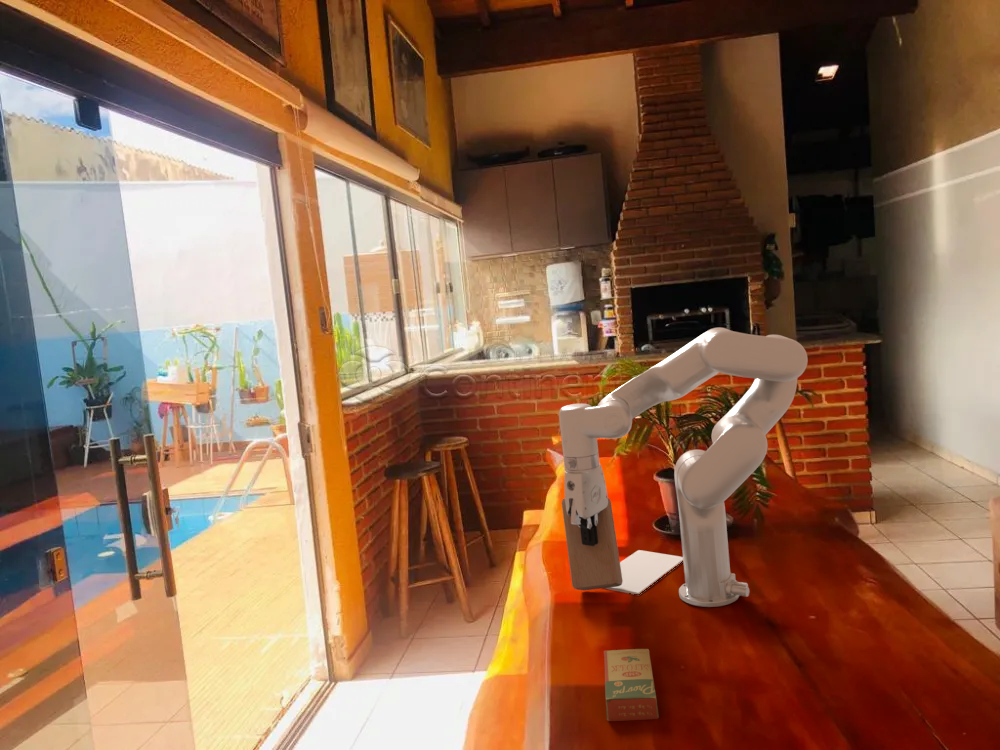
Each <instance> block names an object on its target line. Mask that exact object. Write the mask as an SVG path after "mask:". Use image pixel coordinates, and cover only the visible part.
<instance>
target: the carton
mask: <svg viewBox="0 0 1000 750" xmlns="http://www.w3.org/2000/svg"><path fill="white" fill-rule="evenodd" d="M603 657H604V658H603V660H604V663H603V664H604V692H605V696H604V697H605V707H606V708H605V711H606V721H607V722H620V721H623V722H625V721H641V720H658V719H659V718H660V714H659V708H658V699H657V694H656V689H655V688H656V687H655V681H654V676H653V675H654V674H653V669H652V668H653V667H652V661H651V653H650V650H649V648H635V649H634V648H631V649H617V650H616V649H612V650H603Z"/></svg>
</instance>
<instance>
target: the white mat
mask: <svg viewBox="0 0 1000 750" xmlns="http://www.w3.org/2000/svg"><path fill="white" fill-rule="evenodd" d="M682 561H683V556H679V555H673V554H666V553H660V552H653V551H647V550H642V549H641V550H640V549H638V550H636V551H635V552H633V553H632V554H631V555H628V556H627V557H625V559H623V560H621V561H620V567H621V574H622V580H623V582H622V585H620V586H617V587H609V588H604V590H605V589H606V590H609V591H615V592H619V593H625V594H629V593H631V594H630V595H634V594H640V593H641V592H642V591H644V590H645V589H646V588H648V587H649V586H650V585H652V584H653V583H654V582H656V581H657V580H658V579H659V578H661V577H662V576H663V575H664V574H666V573H667V572H669V571H670V570H671V569H673V568H674V567H675V566H677V565H678V564H680V563H681V562H682ZM682 563H683V562H682ZM682 563H681V564H682ZM681 564H680V565H681ZM678 566H679V565H678ZM678 566H677V567H678ZM674 569H675V568H674ZM674 569H673V570H674ZM670 572H671V571H670ZM670 572H669V573H670ZM661 579H662V578H661ZM657 582H658V581H657ZM657 582H656V583H657ZM653 585H654V584H653ZM653 585H652V586H653ZM649 588H650V587H649ZM649 588H648V589H649ZM645 591H646V590H645ZM645 591H644V592H645ZM641 594H642V593H641ZM641 594H640V595H641Z"/></svg>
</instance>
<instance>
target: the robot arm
mask: <svg viewBox="0 0 1000 750" xmlns="http://www.w3.org/2000/svg"><path fill="white" fill-rule="evenodd" d="M808 361H809V360H808V354H807V351H806V349H805V348H804V346H803V345H802V344H801V343H800V342H798V341H797V340H795V339H792V338H789V337H786V336H783V335H780V334H768V335H766V336H765V335H757V334H748V333H745V332H739V331H733V330H732V329H731V330H730V329H728V328H726V327H713V328H710V329H708V330H707V331H705V332H703V333H702V334H700V335H699V336H697V337H696V338H694V339H693V340H691V341H689V342H687V344H685V345H684V346H682V347H681V348H679V349H678V350H676V351H675V352H674V353H671V355H669V356H668V357H666V358H664V359H663V360H661V361H660V362H658V363H657V364H655V365H653V366H651V367H650V368H648V369H647V370H645V371H643V372H642V373H640V374H639V375H638V376H635V377H633V378H631V379H630V380H628V381H627V382H625V383H624V384H622V385H621V386H618V388H616V389H615V390H613V391H612V392H611V393H609V394H608V395H606V396H605V397H603V398H602V399H601V400H600V401H599V403H598V404H597V406H592V405H590V404H588V403H572V404H567V405H566V404H565V405H564V406H562V407H560V409H559V413H558V420H559V428H560V429H559V430H560V437H561V446H562V454H563V455H562V456H563V465H564V498H565V504H566V511H567V514H568V516H570V517H571V524H574V525H578V527H579V528H580V530H581V539H582V544H583V545H589V546H595V544H598V535H597V526H595V525H597V524H598V515H599V513H600V512H601V511H602V510H603V509H605V508H606V507H607V505H608V498H609V497H608V490H607V484H606V480H605V475H604V471H603V467H602V465H601V463H600V455H599V454H600V453H599V447H598V446H599V444H598V439H609V440H611V439H612V440H613V439H615V440H616V439H621V438H623V437H625V436H626V435H628V434H629V432H630V431H631V429H632V427H633V425H632V424H633V419H634V418H636V417H637V416H639V415H641V414H642V413H644V412H646V410H649V409H650V408H653V406H656V405H658V404H661V403H665V402H671V401H676V400H677V399H681V398H683V397H684V396H686V395H687V394H689V393H691V392H692V391H693V390H695V389H696V388H697V387H699V386H701V385H702V384H704V383H705V382H707V381H708V380H709V379H711V378H714V377H715V376H716V375H718V374H719V373H720V374H724V375H728V376H735V377H742V378H749V379H754V380H753V382H752V384H751V386H750V387H749V388H748V389H747V391H746V392H745V393H744V394H743V396H742V397H741V398H740V399H739V400H738V401H737V402H736V403H735V404H734V405H733V406H732V407H731V408H730V409H729V411H728V412H727V413H726V414H724V416H722V418H720V420H718V421H717V423H715V424H714V427H713V428H712V431H711V442H712V444H711V445H710V446H709V447H708V448H707V449H706V450H703V449H699V448H698V449H690V450H688V451H686V452H684V453H683V454H681V455H680V456H679V458H678V459H677V461H676V463H675V466H674V474H673V476H674V484H675V493H676V499H677V507H678V508H677V509H678V515H679V516H678V517H679V518H678V519H679V526H680V527H679V529H680V539H681V550H682V557H683V562H682V563H683V573H684V582H685V583H683V584H682V585H681V586H680V587H679V588H678V595H679V598H680V599H681V601H683V602H685V603H686V604H689V605H691V606H695V607H704V608H713V607H714V608H715V607H723V606H726V605H731V604H733V603H734V602H736V601H737V600H738V599H739V597H746V598H747V597H749V596H750V588H749V584H748V583H747V582H742V581H738V580H736V574H735V573H732V572H731V567H730V566H731V565H730V553H729V551H730V550H729V542H728V531H727V530H728V528H727V515H726V506H725V505H726V504H725V501H726V500H727V499H728V498H729V497H730V496H731V495H733V493H735V491H736V490H738V488H739V487H740V486H742V484H743V483H744V482H745V481H746V480H747V479H749V477H750V476H751V475H752V474H753V473H754V472H755V471H756V470H757V468H759V466H761V464H762V463H763V461H764V459H765V457H766V455H767V452H768V447H769V446H768V439H767V437H766V436H767V434H768V433H769V432H770V431H771V429H772V428H773V427H774V426H775V425H776V424H777V423H778V422H779V421H780V419H781V418H782V417H783V416H784V414H786V413H787V411H788V409H789V408H790V407H791V404H792V403H793V401H794V398H795V395H796V392H797V385H798V378H799V377H801V376H802V375H803V373H804V372H806V368H807V367H808Z"/></svg>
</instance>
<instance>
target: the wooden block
mask: <svg viewBox="0 0 1000 750" xmlns="http://www.w3.org/2000/svg"><path fill="white" fill-rule="evenodd" d="M561 508H562V517H563V523H564V533H565V540H566V548H567V553H568V554H567V556H568V557H567V558H568V563H569V573H570V580H571V586H572V587H573V589H574V590H580V591H590V590H600V589H605V588H609V587H617V586H620V585H622V582H623V580H622V574H621V567H620V562H621V561H620V554H619V548H618V541H617V540H618V539H617V535H616V528H615V522H614V515H613V508H612V501H611V499H610V497H608V505H607V507H606V508H605V509H603V510H602V511H601V512H600V513H599V515H598V524H597V525H595V526H597V535H598V544H595V546H589V545H583V544H582V539H581V530H580V528H579V527H578V525H574V524H571V517H570V516H568V514H567V511H566V504H565V497H564V498H562V500H561Z"/></svg>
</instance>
